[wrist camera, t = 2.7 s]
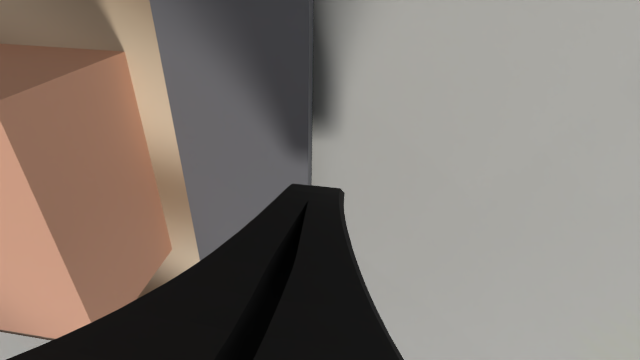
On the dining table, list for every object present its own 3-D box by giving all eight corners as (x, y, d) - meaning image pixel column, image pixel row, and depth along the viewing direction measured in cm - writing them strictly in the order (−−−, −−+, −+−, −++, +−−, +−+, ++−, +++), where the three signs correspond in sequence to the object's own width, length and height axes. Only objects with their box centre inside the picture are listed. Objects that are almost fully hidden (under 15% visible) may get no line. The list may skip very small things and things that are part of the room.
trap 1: (309, 327, 16) (307, 339, 15) (217, 313, 16) (212, 324, 16) (315, -138, 8) (310, -144, 7) (137, -138, 8) (121, -143, 8)
